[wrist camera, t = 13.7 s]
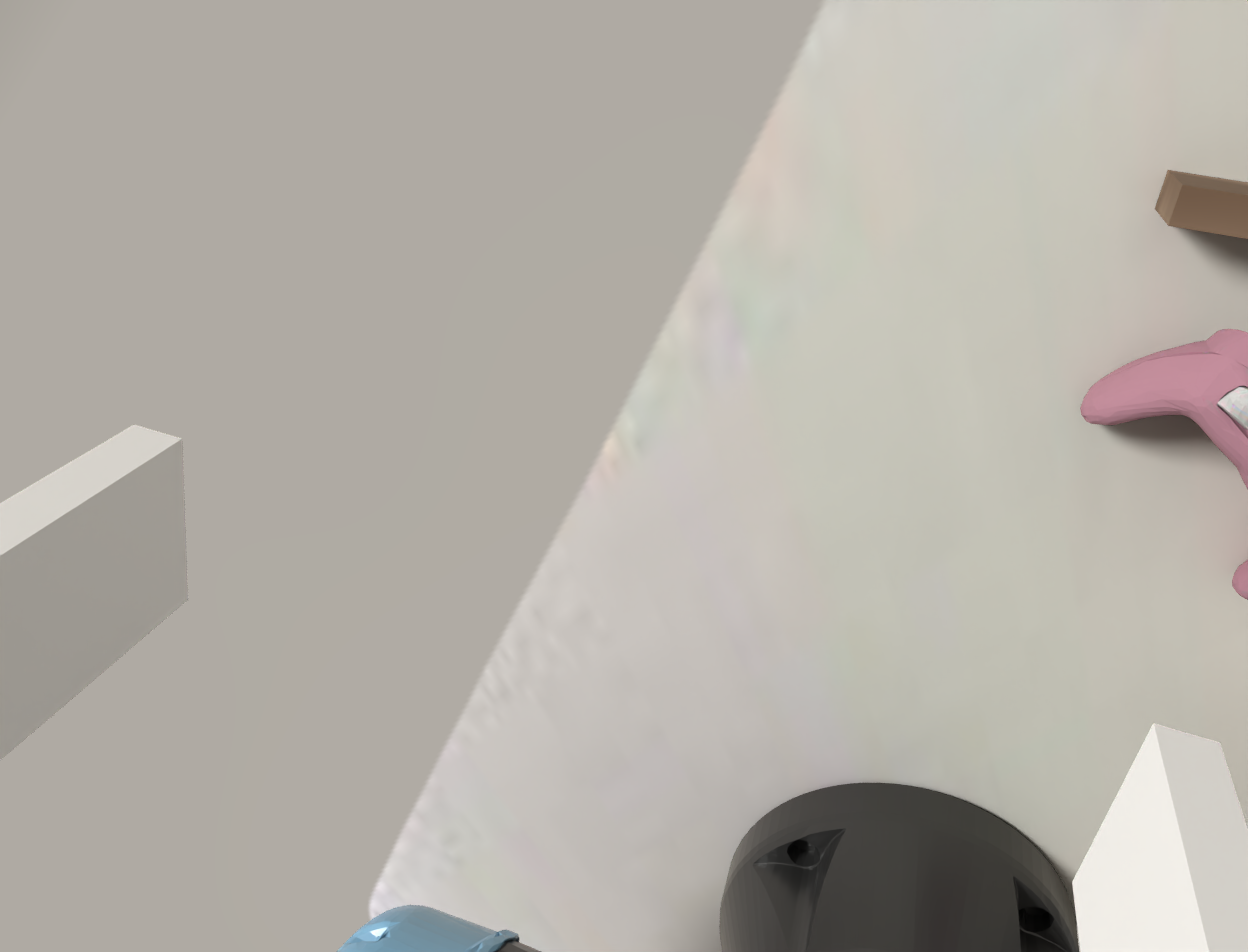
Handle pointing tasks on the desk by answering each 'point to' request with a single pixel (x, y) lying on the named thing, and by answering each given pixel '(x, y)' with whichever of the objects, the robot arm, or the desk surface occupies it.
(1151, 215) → the desk surface
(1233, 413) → the video game controller
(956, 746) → the desk surface
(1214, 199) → the dock
